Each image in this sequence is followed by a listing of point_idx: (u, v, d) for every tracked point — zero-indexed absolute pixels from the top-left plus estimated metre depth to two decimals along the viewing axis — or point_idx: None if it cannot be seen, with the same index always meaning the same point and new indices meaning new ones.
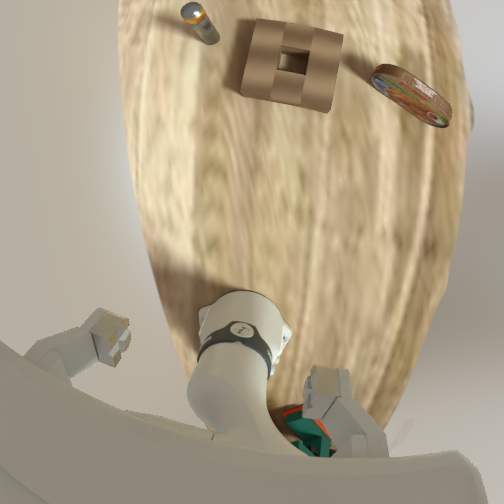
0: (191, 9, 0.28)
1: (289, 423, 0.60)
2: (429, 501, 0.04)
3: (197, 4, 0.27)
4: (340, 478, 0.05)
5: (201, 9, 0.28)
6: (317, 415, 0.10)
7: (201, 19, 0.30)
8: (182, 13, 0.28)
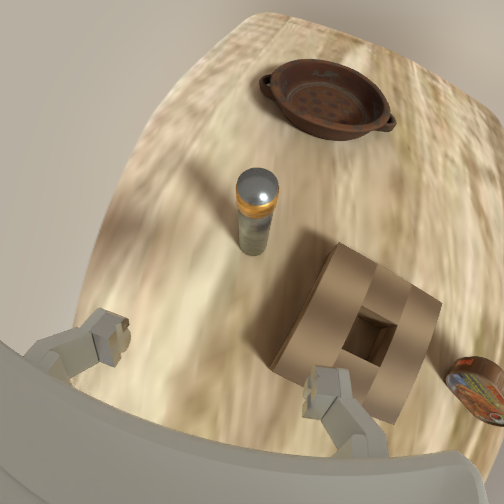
0: (259, 184, 0.20)
1: None
2: (429, 501, 0.04)
3: (273, 179, 0.21)
4: (340, 478, 0.05)
5: (275, 194, 0.21)
6: (317, 415, 0.10)
7: (265, 212, 0.22)
8: (240, 185, 0.20)
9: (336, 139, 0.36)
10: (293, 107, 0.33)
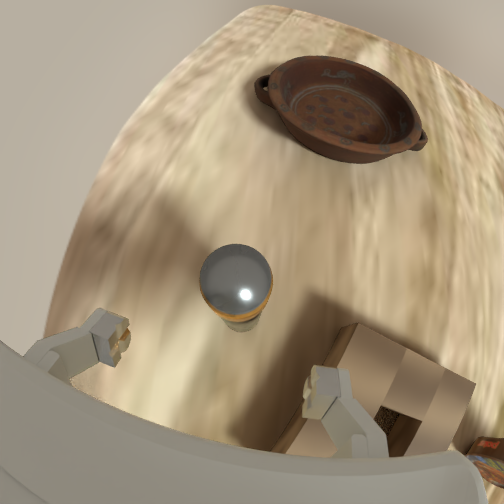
0: (238, 278, 0.12)
1: None
2: (429, 501, 0.04)
3: (263, 267, 0.12)
4: (340, 478, 0.05)
5: None
6: (317, 415, 0.10)
7: None
8: (204, 278, 0.12)
9: (355, 162, 0.27)
10: (298, 119, 0.25)
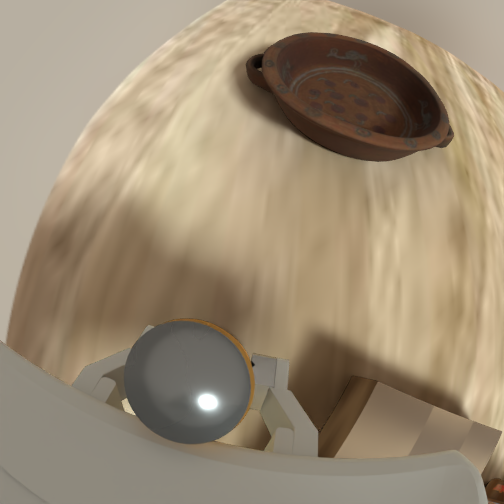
0: (188, 387, 0.06)
1: None
2: (429, 501, 0.04)
3: (235, 368, 0.06)
4: (340, 478, 0.05)
5: None
6: (255, 405, 0.10)
7: None
8: (132, 381, 0.06)
9: (371, 159, 0.21)
10: (301, 103, 0.18)
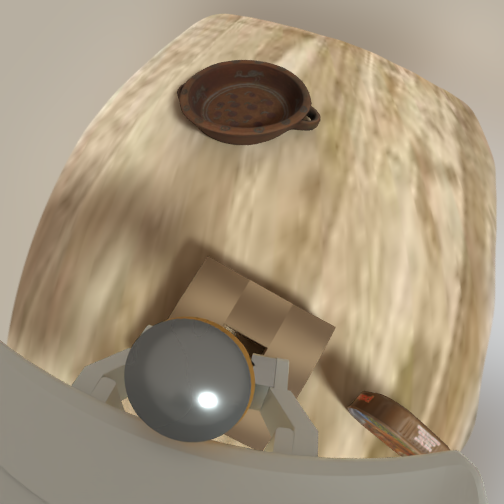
0: (189, 385, 0.06)
1: None
2: (429, 501, 0.04)
3: (235, 366, 0.06)
4: (340, 478, 0.05)
5: None
6: (255, 405, 0.10)
7: None
8: (132, 379, 0.06)
9: (243, 143, 0.36)
10: (193, 115, 0.33)
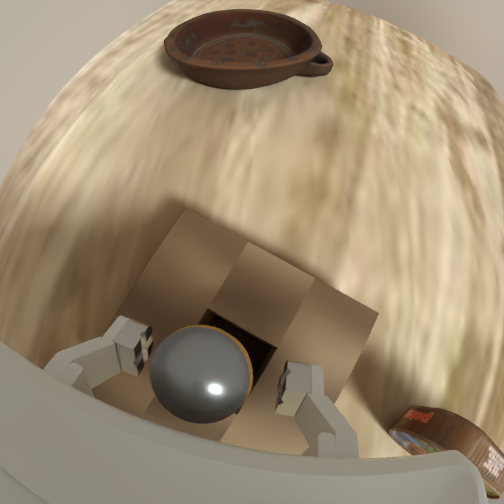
0: (201, 378, 0.08)
1: None
2: (429, 501, 0.04)
3: (237, 363, 0.08)
4: (340, 478, 0.05)
5: None
6: (289, 411, 0.10)
7: None
8: (156, 375, 0.08)
9: (240, 86, 0.26)
10: (179, 54, 0.24)
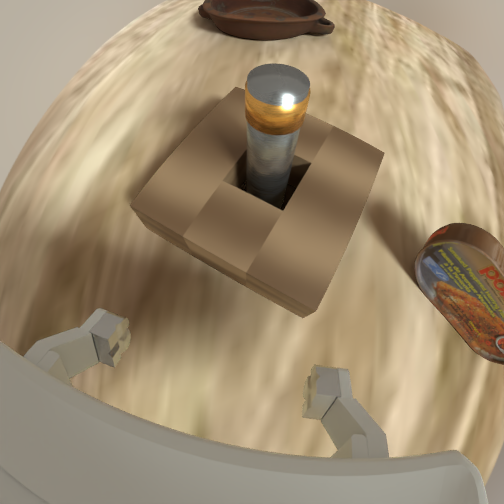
0: (281, 80, 0.12)
1: None
2: (429, 501, 0.04)
3: (301, 76, 0.12)
4: (340, 478, 0.05)
5: (305, 95, 0.12)
6: (317, 415, 0.10)
7: (290, 124, 0.13)
8: (251, 79, 0.12)
9: (264, 36, 0.30)
10: (217, 11, 0.28)
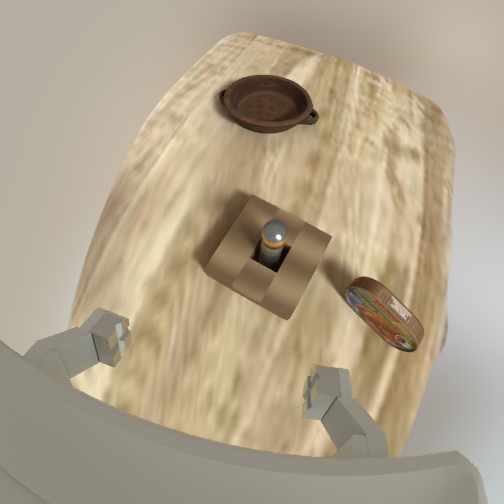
0: (276, 230, 0.34)
1: None
2: (429, 501, 0.04)
3: (285, 227, 0.34)
4: (340, 478, 0.05)
5: None
6: (317, 415, 0.10)
7: (279, 246, 0.36)
8: (265, 230, 0.34)
9: (268, 132, 0.53)
10: (236, 112, 0.50)
